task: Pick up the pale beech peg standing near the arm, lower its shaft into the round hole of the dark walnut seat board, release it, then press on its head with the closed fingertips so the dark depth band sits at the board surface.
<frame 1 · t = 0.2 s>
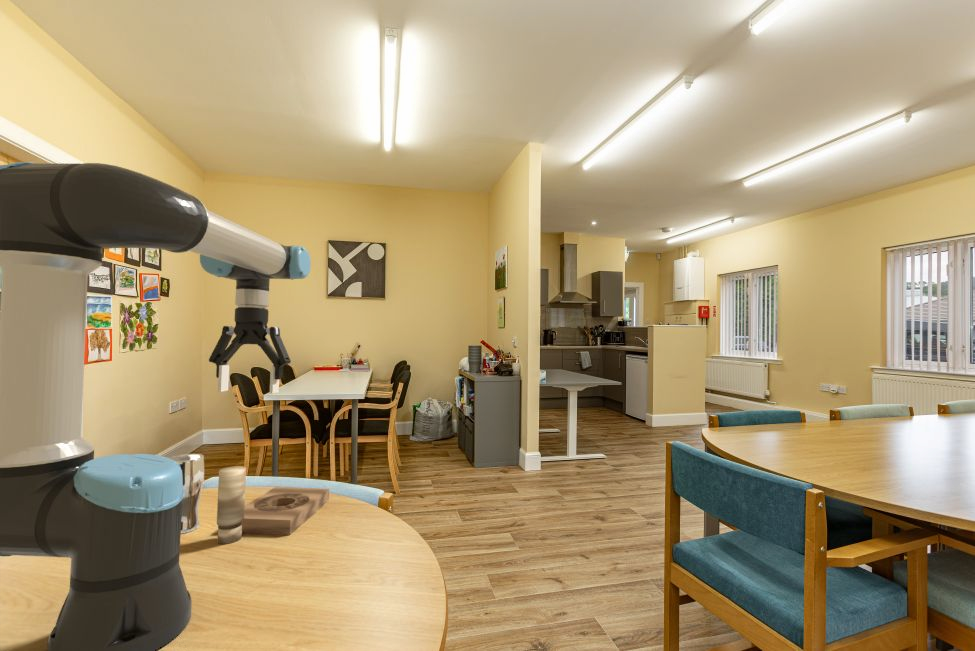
hand: (248, 392, 110), 27 cm above the table, fingers open, 13 cm apart
metal cup: (182, 529, 94), on the table
peg: (229, 539, 89), on the table
board: (281, 515, 102), on the table
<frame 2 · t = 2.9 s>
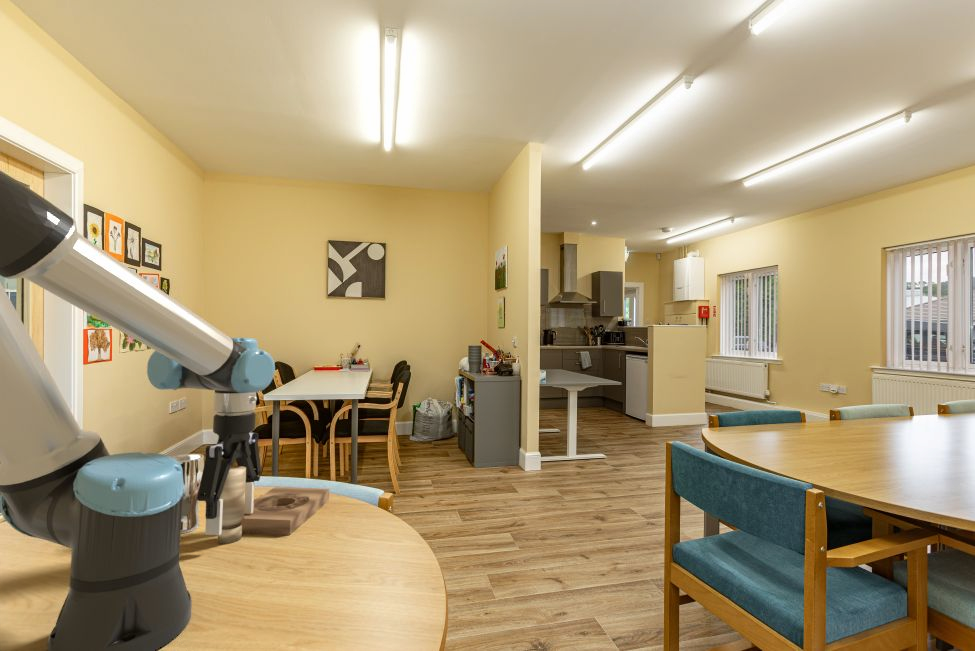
hand: (230, 522, 89), 3 cm above the table, fingers open, 10 cm apart
nothing on the table moved.
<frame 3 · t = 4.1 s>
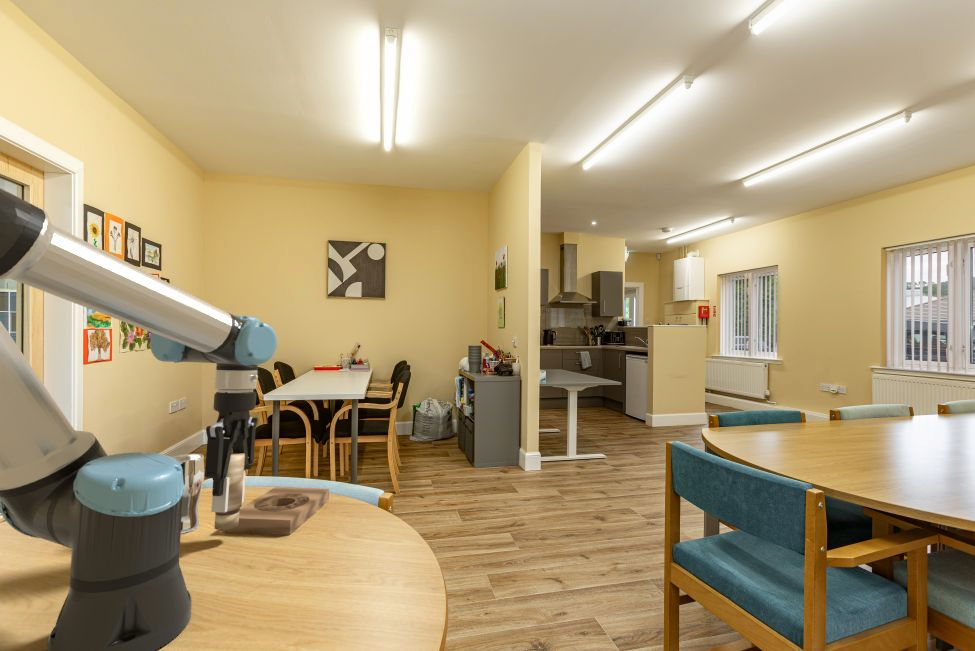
hand: (228, 506, 89), 7 cm above the table, fingers closed on peg, 5 cm apart
peg: (226, 525, 89), point 3 cm above the table, touching gripper
everything else where it was.
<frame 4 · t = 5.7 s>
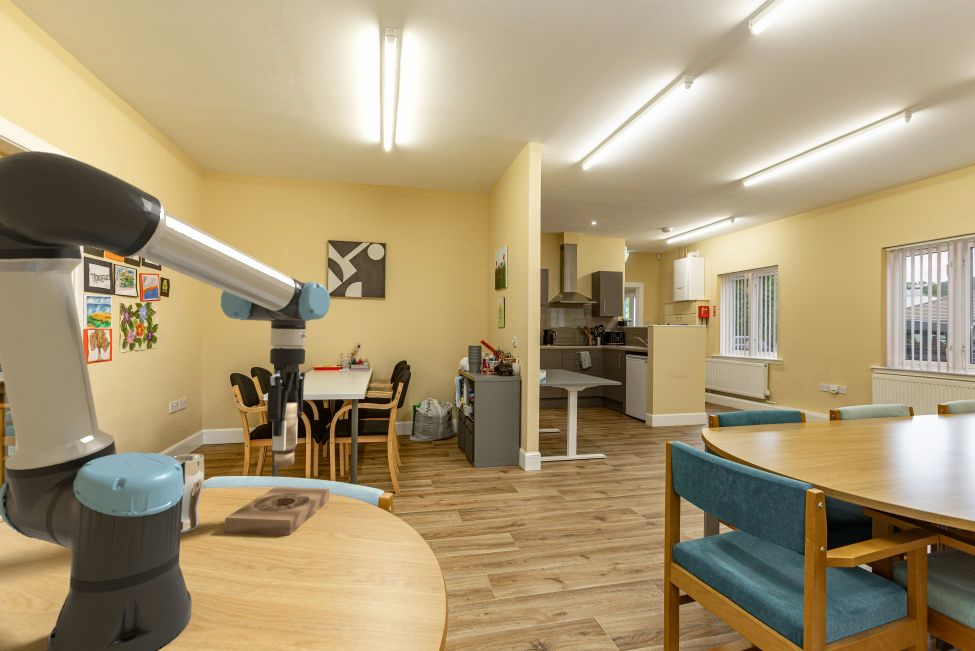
hand: (284, 446, 103), 16 cm above the table, fingers closed on peg, 5 cm apart
peg: (284, 463, 103), point 12 cm above the table, touching gripper
everything else where it was.
when the fingers open (4 cm above the table, at t = 7.6 s): peg stays where it is, resting on board.
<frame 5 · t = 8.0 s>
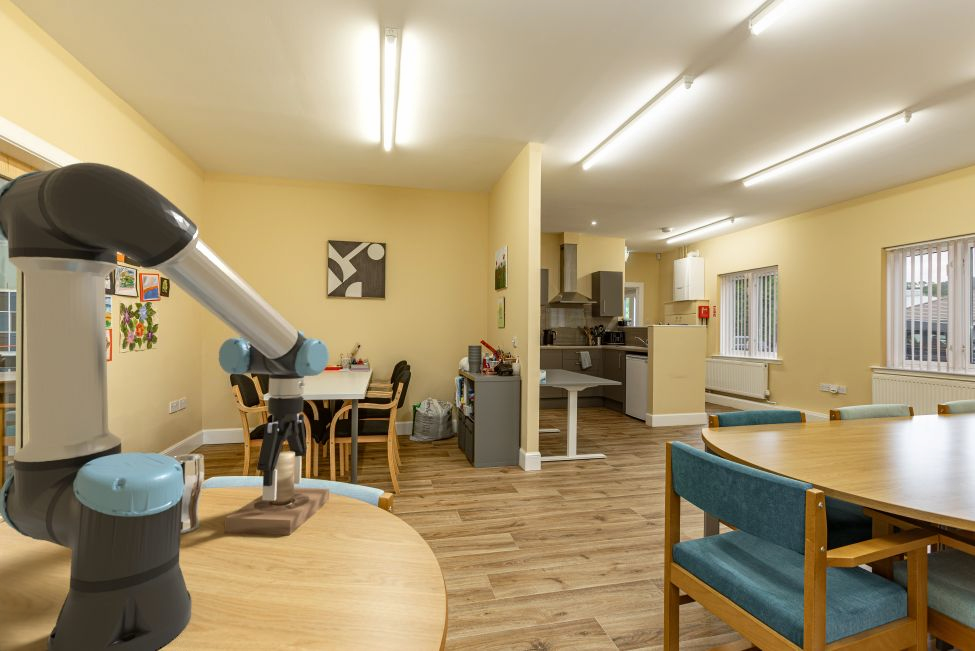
hand: (282, 491, 102), 5 cm above the table, fingers open, 11 cm apart
peg: (281, 514, 102), resting on board
everything else where it was.
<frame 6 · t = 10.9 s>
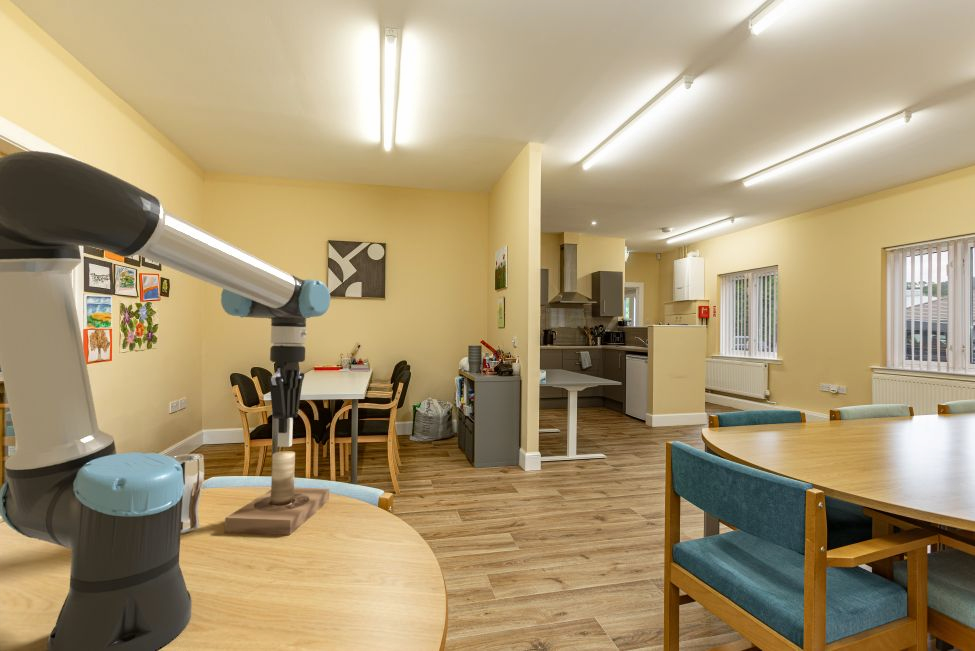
hand: (284, 445, 103), 16 cm above the table, fingers closed
nothing on the table moved.
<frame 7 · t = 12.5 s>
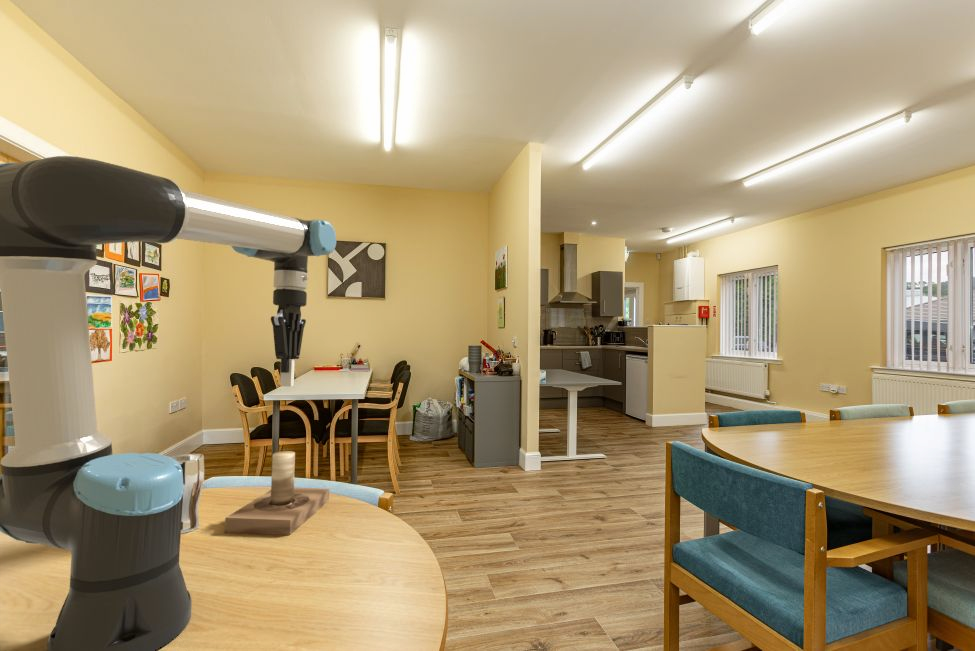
hand: (286, 385, 107), 29 cm above the table, fingers closed
nothing on the table moved.
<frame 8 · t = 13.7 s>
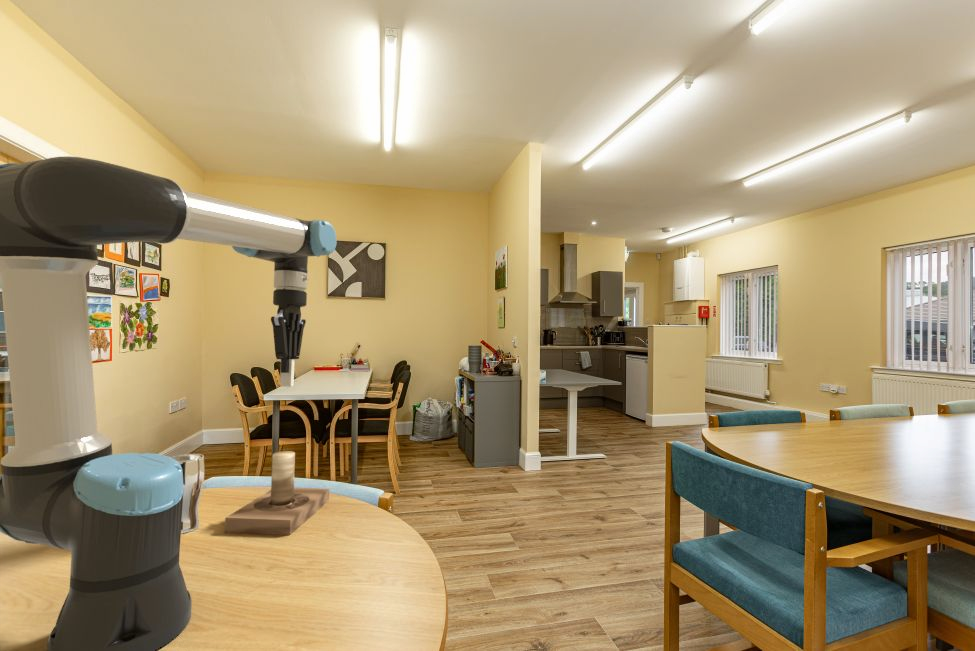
hand: (286, 386, 107), 29 cm above the table, fingers closed
nothing on the table moved.
at the end: peg 0.0 cm off-centre in the board, point 0.1 cm above the board's base; peg tilted 0°; the gripper is holding nothing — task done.
